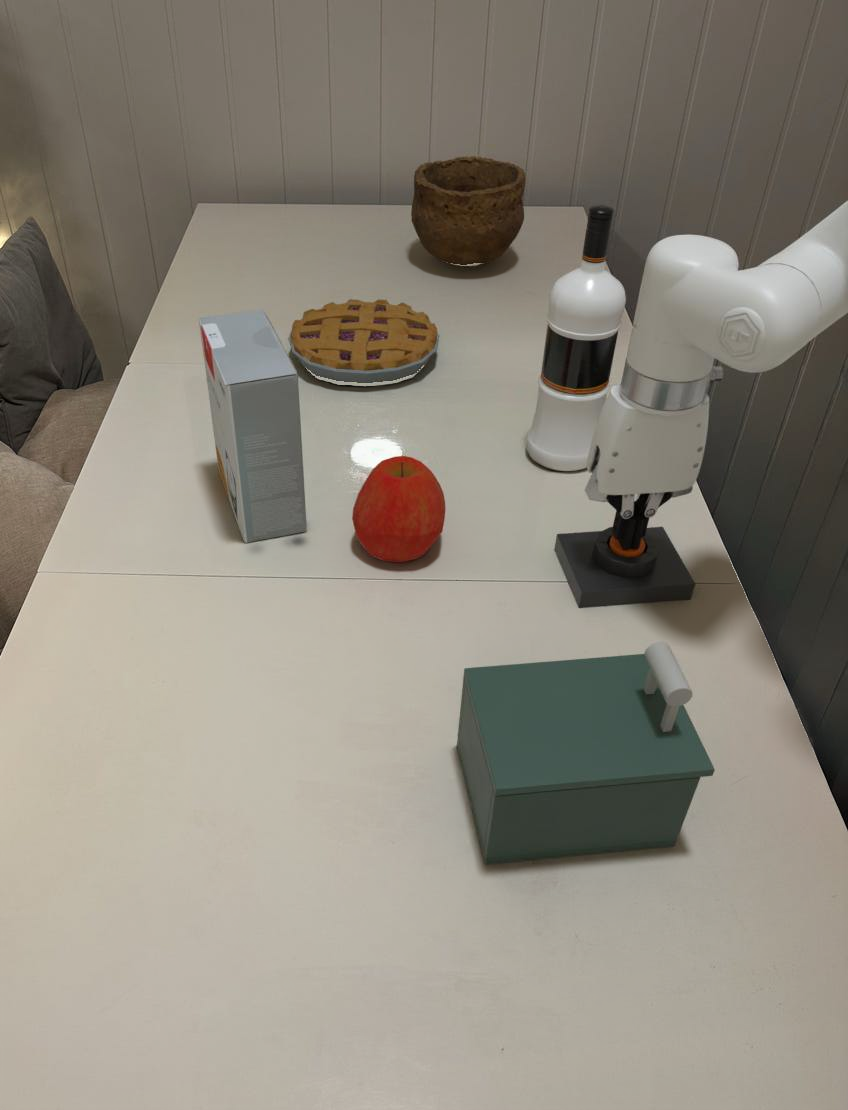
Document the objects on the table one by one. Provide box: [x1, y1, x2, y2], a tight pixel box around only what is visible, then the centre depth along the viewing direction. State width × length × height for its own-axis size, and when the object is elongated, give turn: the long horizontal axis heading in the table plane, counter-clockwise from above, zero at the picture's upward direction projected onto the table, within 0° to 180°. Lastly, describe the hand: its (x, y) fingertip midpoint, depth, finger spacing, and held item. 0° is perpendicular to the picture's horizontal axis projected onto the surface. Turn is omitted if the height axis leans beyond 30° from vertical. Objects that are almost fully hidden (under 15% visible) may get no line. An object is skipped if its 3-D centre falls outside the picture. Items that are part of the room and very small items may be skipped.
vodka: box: [525, 203, 627, 472], centre depth 109 cm, size 9×9×30 cm
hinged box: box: [456, 675, 701, 865], centre depth 78 cm, size 16×13×9 cm
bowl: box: [410, 155, 526, 265], centre depth 159 cm, size 19×19×15 cm
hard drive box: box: [197, 309, 307, 543], centre depth 105 cm, size 16×8×20 cm, turn 17°
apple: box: [351, 455, 447, 563], centre depth 102 cm, size 10×10×10 cm
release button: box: [609, 536, 645, 557], centre depth 100 cm, size 4×4×2 cm
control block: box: [553, 526, 696, 609], centre depth 101 cm, size 12×10×4 cm
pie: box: [287, 298, 440, 383], centre depth 137 cm, size 22×22×5 cm
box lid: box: [463, 641, 716, 796], centre depth 73 cm, size 16×13×6 cm
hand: (626, 541), depth 99 cm, fingers closed
